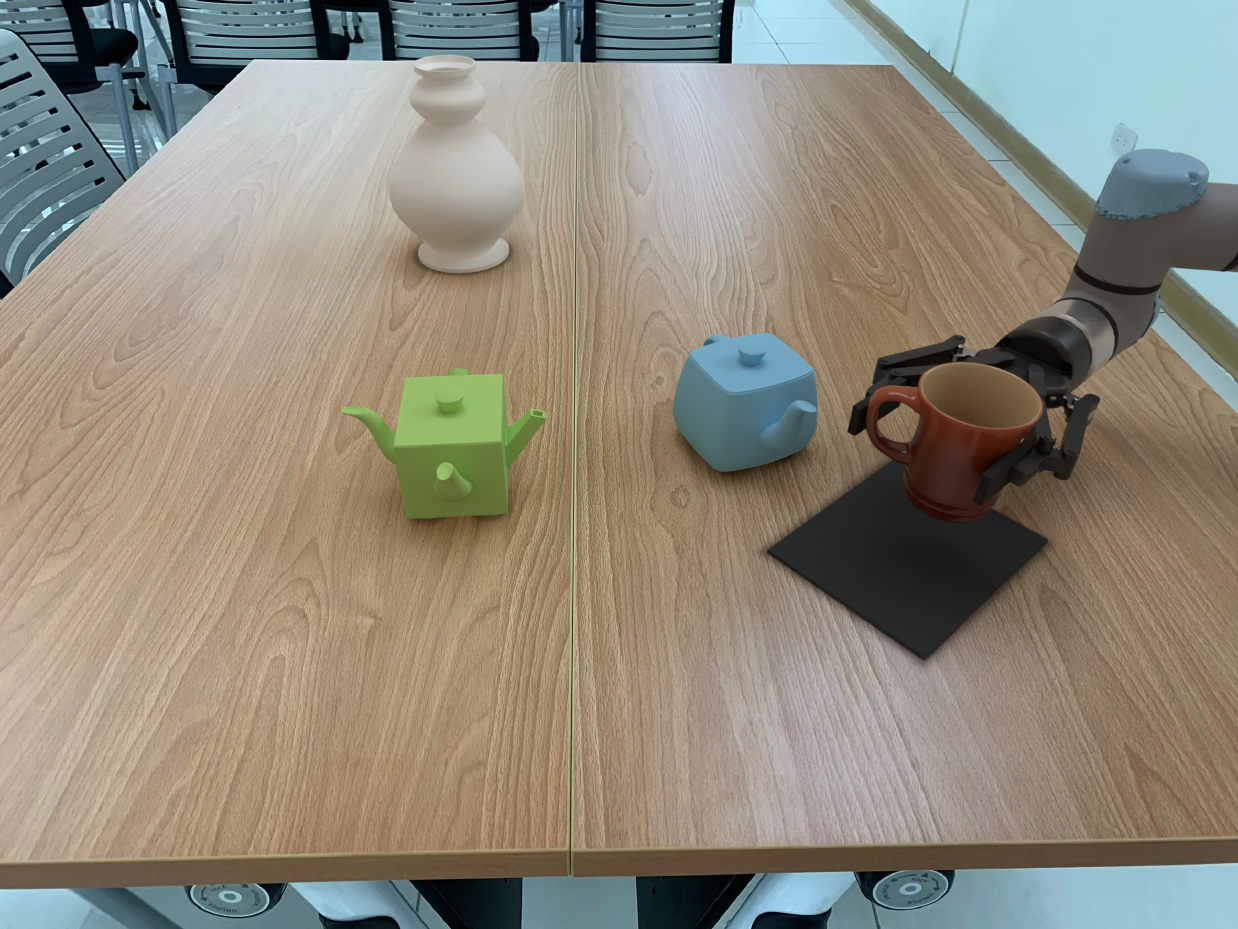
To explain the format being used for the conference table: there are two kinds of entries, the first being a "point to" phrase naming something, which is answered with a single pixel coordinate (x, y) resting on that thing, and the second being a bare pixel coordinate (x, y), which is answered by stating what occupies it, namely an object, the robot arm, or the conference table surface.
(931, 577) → the front mat
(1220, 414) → the conference table surface
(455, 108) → the decorative vase
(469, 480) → the kettle
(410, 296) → the conference table surface
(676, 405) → the teapot
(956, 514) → the mug
